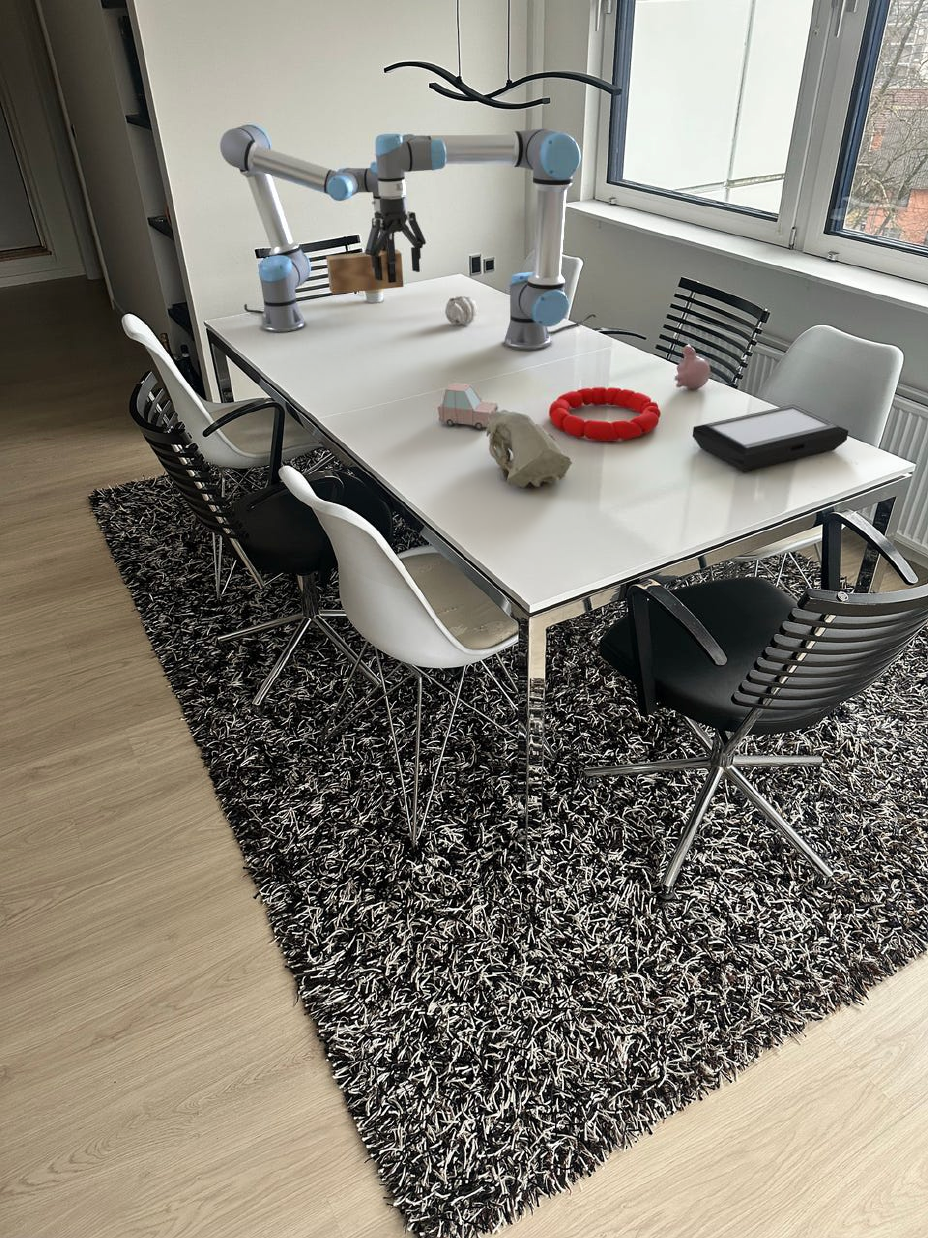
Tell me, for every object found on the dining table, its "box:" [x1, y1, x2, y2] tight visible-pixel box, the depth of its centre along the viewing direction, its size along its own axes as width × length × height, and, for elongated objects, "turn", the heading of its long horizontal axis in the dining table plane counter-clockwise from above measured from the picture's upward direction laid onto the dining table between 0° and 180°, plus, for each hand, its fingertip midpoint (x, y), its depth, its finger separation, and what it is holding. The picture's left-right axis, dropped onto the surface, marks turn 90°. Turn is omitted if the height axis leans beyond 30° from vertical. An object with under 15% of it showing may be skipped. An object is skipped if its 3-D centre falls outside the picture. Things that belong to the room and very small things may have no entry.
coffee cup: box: [364, 289, 384, 304], centre depth 348 cm, size 10×10×15 cm
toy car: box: [437, 382, 499, 431], centre depth 243 cm, size 9×15×10 cm, turn 70°
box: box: [325, 248, 404, 295], centre depth 318 cm, size 26×6×12 cm, turn 106°
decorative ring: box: [548, 386, 661, 442], centre depth 242 cm, size 7×30×30 cm
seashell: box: [444, 295, 478, 326], centre depth 319 cm, size 10×15×10 cm
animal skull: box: [485, 409, 573, 489], centre depth 216 cm, size 17×25×20 cm
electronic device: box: [692, 404, 850, 473], centre depth 224 cm, size 32×6×20 cm
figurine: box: [674, 344, 711, 390], centre depth 259 cm, size 9×11×12 cm
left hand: (390, 279), depth 322 cm, fingers closed on box, 6 cm apart
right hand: (397, 275), depth 262 cm, fingers open, 13 cm apart
